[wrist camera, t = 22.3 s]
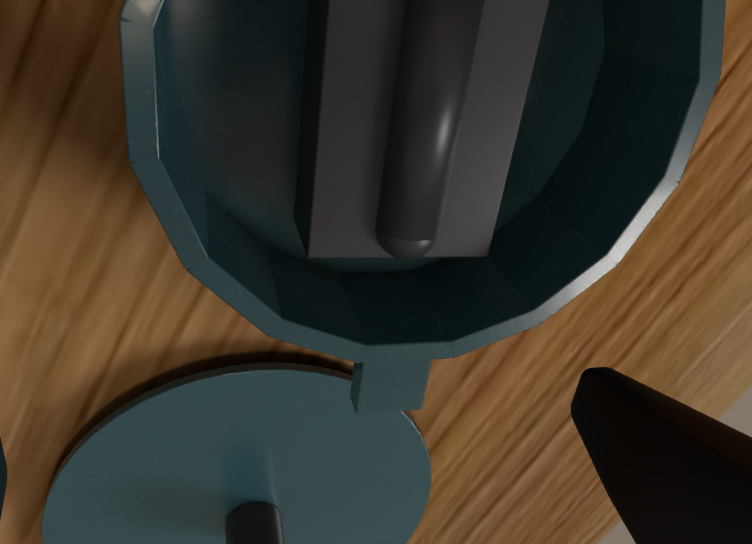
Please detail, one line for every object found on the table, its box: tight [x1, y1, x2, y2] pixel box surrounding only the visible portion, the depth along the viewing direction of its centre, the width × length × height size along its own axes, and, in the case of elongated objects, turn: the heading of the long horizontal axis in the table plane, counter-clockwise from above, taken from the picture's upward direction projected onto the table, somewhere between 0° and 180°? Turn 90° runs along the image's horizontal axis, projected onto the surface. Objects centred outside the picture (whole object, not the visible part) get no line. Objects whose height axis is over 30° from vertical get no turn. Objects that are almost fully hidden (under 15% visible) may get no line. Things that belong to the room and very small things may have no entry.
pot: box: [118, 0, 726, 415], centre depth 17 cm, size 15×21×5 cm
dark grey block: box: [294, 0, 550, 259], centre depth 17 cm, size 6×10×4 cm, turn 172°
